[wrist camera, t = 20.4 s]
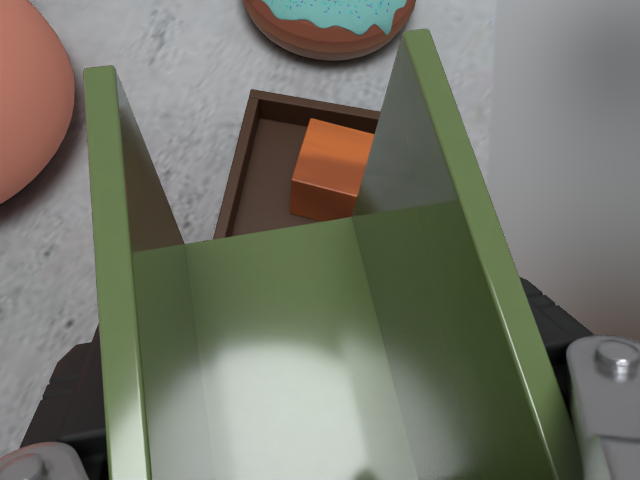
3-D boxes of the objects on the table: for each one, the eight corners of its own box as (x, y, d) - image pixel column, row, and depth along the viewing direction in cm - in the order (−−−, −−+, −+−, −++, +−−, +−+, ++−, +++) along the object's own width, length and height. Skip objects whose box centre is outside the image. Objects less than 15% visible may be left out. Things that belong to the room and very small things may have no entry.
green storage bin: (464, 599, 13) (690, 741, 6) (218, 665, 13) (135, 926, 5) (364, 222, 17) (429, 26, 10) (170, 254, 16) (81, 66, 9)
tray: (409, 331, 31) (420, 319, 29) (207, 296, 31) (202, 282, 28) (427, 144, 36) (437, 121, 33) (252, 113, 36) (250, 88, 33)
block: (366, 199, 29) (382, 135, 30) (290, 179, 29) (310, 117, 30) (356, 231, 32) (370, 172, 34) (288, 213, 32) (306, 156, 34)
